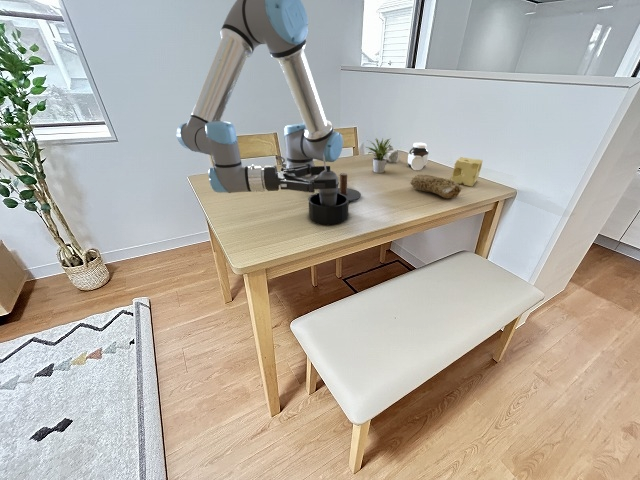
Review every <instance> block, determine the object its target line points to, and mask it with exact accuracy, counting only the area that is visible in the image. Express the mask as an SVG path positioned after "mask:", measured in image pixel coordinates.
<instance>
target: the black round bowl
mask: <svg viewBox="0 0 640 480" xmlns="http://www.w3.org/2000/svg"><path fill="white" fill-rule="evenodd" d="M307 203H308V216H309V220H310V221H311V222H312V223H314V224H317V225H320V226H336V225H341V224H343V223H345V222H346V221H347V220H348V219H349V206H350V205H349V203H350V202H349V199H348V197H347V196H345V195H344V194H341V193H337V201H336V206H321V204H320V196H319V192H316V193H312V194H311V195H310V196H309V197H308V202H307Z"/></svg>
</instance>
